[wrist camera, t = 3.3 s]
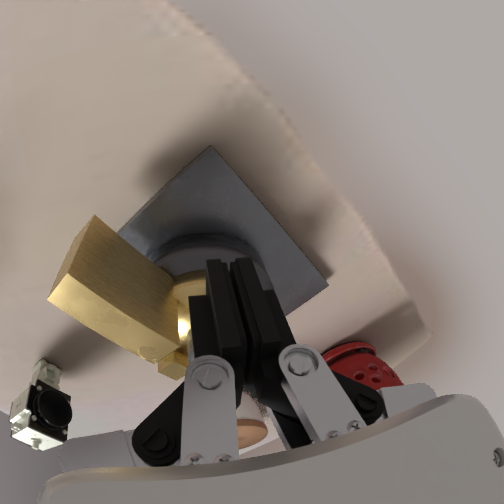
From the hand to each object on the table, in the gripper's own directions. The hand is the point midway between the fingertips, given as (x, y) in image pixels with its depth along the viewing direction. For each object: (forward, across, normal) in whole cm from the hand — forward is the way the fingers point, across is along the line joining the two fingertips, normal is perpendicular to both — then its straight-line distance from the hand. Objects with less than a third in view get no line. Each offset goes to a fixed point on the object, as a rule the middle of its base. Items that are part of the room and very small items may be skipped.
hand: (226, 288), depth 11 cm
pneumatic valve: (+12, +22, +23) cm, 34 cm away
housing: (+12, 0, +10) cm, 16 cm away
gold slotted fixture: (+8, +2, +8) cm, 11 cm away
